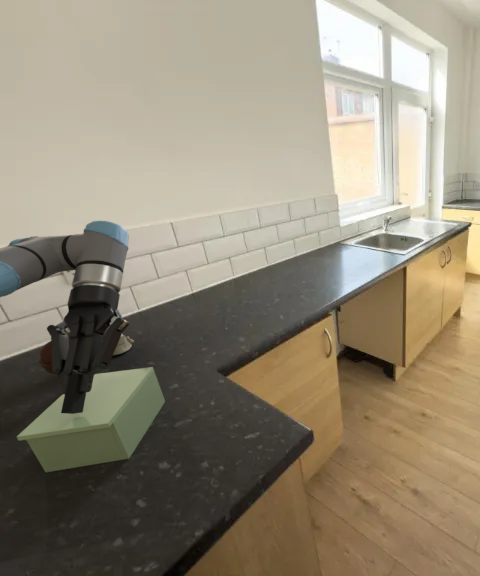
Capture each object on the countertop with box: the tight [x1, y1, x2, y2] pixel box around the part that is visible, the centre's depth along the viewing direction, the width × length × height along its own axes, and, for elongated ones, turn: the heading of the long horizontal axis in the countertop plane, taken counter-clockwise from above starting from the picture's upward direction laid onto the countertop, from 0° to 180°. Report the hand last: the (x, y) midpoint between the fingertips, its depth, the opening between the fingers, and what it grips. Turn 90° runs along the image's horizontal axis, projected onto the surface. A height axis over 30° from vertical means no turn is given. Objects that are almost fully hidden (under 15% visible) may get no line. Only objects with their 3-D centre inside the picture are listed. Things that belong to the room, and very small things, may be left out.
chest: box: [25, 370, 166, 473], centre depth 64 cm, size 16×14×9 cm
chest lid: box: [16, 366, 155, 441], centre depth 62 cm, size 17×14×1 cm
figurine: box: [102, 308, 135, 356], centre depth 92 cm, size 9×8×20 cm
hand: (72, 412), depth 56 cm, fingers closed
